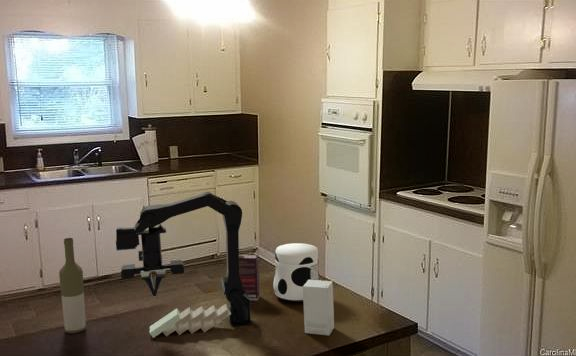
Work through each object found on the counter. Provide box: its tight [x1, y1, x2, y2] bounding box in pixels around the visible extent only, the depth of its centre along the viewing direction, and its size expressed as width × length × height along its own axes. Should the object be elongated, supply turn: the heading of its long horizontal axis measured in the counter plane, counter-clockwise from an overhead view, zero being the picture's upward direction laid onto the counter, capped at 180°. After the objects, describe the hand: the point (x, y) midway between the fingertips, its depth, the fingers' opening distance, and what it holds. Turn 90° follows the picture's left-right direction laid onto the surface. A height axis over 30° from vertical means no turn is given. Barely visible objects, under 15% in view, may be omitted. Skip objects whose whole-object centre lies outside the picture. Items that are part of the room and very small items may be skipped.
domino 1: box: [149, 308, 181, 339], centre depth 174 cm, size 2×5×10 cm
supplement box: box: [239, 254, 260, 301], centre depth 202 cm, size 9×5×16 cm, turn 84°
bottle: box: [58, 237, 87, 334], centre depth 175 cm, size 7×7×30 cm
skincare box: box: [302, 279, 335, 336], centre depth 173 cm, size 8×7×16 cm
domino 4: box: [188, 304, 219, 335], centre depth 176 cm, size 2×5×10 cm
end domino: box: [200, 303, 231, 333], centre depth 177 cm, size 2×5×10 cm
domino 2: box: [162, 306, 194, 337], centre depth 175 cm, size 2×5×10 cm
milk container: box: [272, 242, 321, 303], centre depth 202 cm, size 17×17×18 cm
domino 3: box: [175, 305, 206, 336], centre depth 176 cm, size 2×5×10 cm
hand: (154, 295), depth 174 cm, fingers closed
